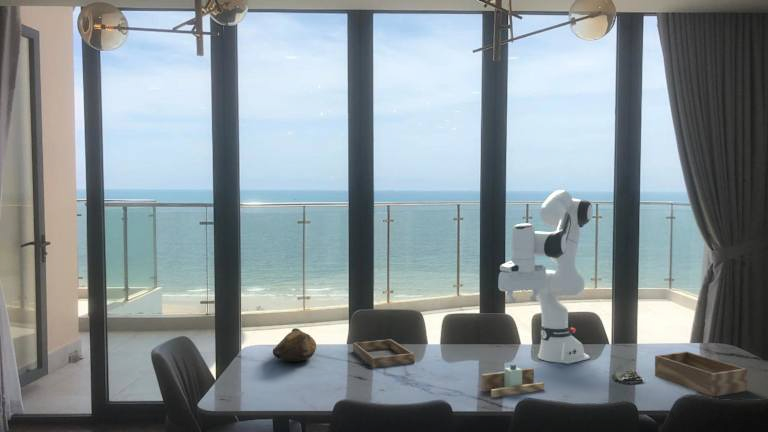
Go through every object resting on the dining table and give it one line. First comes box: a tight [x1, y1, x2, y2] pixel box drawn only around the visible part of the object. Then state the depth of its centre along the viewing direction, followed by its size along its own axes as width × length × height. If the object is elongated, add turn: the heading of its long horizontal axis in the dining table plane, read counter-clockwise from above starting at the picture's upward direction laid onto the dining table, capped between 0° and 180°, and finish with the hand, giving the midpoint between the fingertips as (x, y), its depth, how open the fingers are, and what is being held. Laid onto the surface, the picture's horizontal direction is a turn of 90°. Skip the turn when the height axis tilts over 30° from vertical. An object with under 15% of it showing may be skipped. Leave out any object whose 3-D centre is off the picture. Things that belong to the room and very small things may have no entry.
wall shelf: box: [480, 367, 545, 398], centre depth 211 cm, size 22×8×6 cm, turn 111°
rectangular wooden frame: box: [352, 338, 415, 368], centre depth 256 cm, size 19×27×4 cm
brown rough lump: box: [272, 327, 317, 363], centre depth 252 cm, size 37×18×15 cm, turn 174°
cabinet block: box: [504, 364, 523, 388], centre depth 211 cm, size 5×4×10 cm
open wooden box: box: [654, 351, 748, 397], centre depth 219 cm, size 17×26×8 cm, turn 21°
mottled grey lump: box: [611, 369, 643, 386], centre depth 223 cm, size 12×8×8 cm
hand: (522, 301), depth 220 cm, fingers open, 8 cm apart
